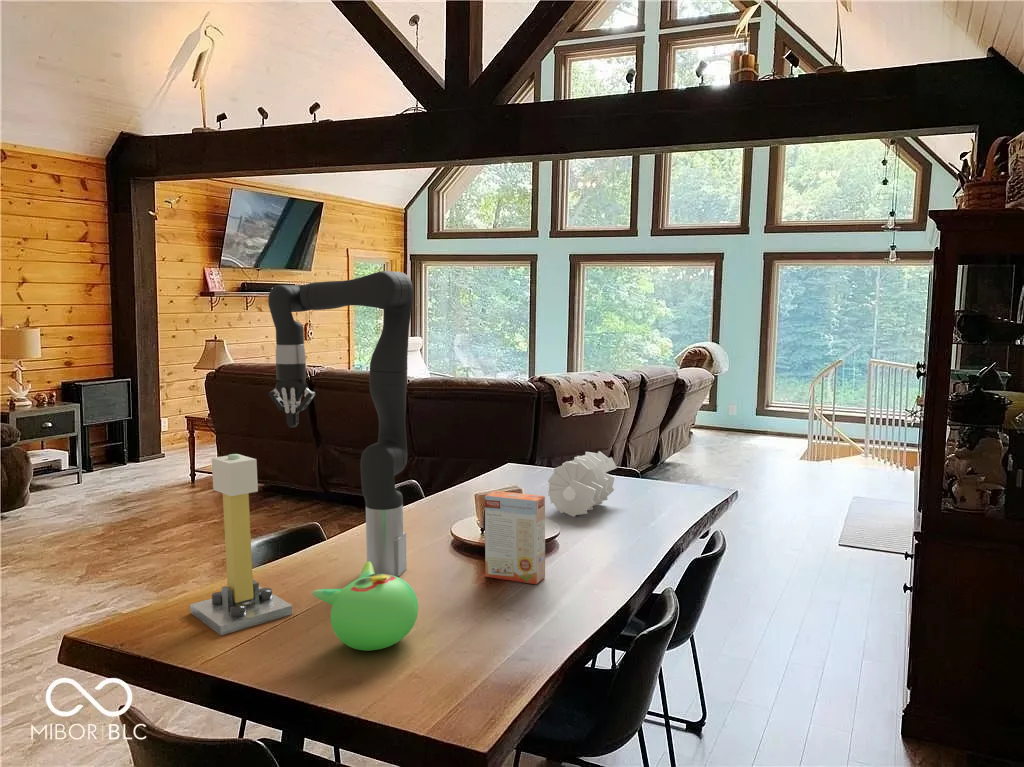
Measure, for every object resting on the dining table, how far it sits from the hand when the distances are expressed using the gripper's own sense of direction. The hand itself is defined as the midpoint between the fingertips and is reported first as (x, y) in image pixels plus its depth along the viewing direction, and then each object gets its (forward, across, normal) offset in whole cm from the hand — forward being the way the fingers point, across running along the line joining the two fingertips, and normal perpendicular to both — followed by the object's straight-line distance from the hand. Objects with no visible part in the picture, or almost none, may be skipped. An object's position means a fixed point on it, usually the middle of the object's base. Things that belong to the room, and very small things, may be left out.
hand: (292, 426), depth 207 cm
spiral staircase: (+35, +71, +60) cm, 99 cm away
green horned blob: (+35, +40, -48) cm, 72 cm away
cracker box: (+35, +61, -6) cm, 71 cm away
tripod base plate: (+35, +6, -39) cm, 53 cm away
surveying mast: (+33, +6, -39) cm, 51 cm away
